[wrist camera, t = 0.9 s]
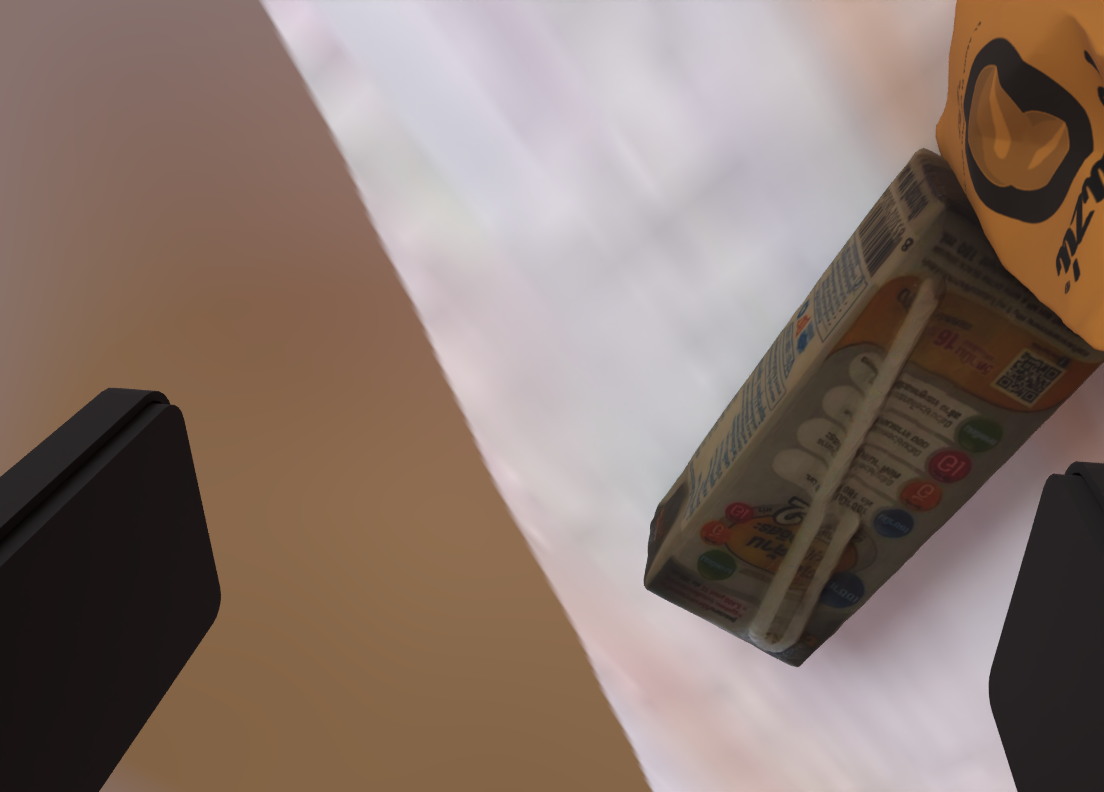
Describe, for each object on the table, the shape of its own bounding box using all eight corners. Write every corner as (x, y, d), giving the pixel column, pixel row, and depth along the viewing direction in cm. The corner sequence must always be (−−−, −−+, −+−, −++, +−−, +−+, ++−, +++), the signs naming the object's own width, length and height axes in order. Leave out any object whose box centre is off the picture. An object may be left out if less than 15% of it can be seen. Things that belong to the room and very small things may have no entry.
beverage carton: (642, 503, 43) (629, 602, 38) (914, 129, 34) (951, 186, 28) (793, 582, 44) (803, 690, 39) (1101, 238, 35) (1174, 315, 29)
